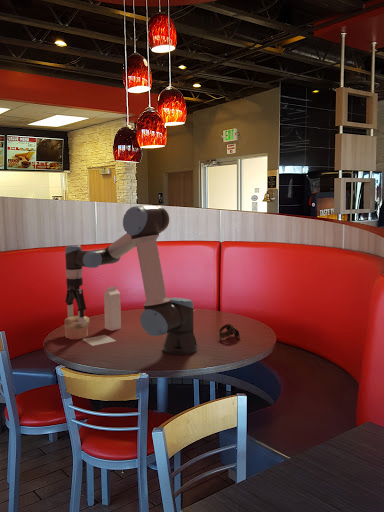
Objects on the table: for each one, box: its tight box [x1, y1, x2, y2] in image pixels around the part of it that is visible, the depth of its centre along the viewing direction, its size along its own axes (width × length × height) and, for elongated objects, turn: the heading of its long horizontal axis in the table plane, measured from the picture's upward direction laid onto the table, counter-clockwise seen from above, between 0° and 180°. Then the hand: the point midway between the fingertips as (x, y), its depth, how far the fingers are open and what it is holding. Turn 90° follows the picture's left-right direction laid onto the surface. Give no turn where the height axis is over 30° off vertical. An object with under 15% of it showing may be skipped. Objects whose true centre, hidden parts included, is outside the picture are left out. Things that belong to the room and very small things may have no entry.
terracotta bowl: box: [64, 326, 89, 340], centre depth 229 cm, size 10×10×6 cm
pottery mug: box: [218, 323, 241, 341], centre depth 225 cm, size 12×10×8 cm
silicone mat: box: [81, 334, 117, 347], centre depth 222 cm, size 12×12×1 cm
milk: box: [103, 285, 122, 332], centre depth 240 cm, size 6×6×22 cm
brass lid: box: [64, 315, 90, 329], centre depth 228 cm, size 12×12×4 cm
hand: (76, 320), depth 228 cm, fingers open, 13 cm apart
